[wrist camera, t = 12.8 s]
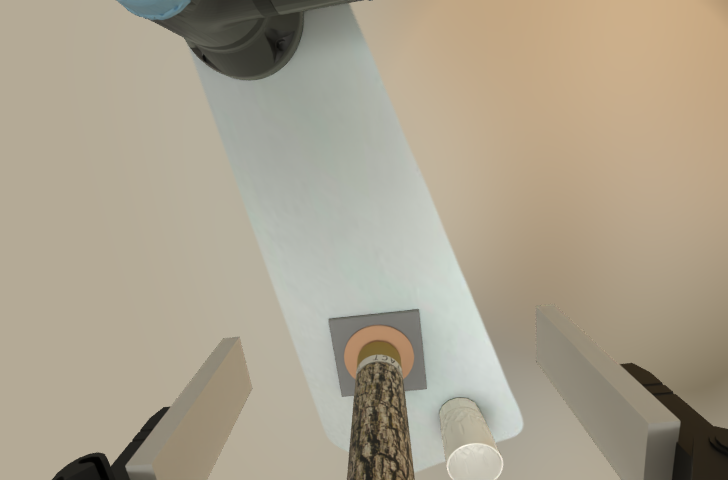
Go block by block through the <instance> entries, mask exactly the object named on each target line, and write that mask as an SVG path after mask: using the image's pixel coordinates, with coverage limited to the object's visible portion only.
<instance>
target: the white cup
mask: <svg viewBox="0 0 728 480" xmlns="http://www.w3.org/2000/svg"><path fill="white" fill-rule="evenodd" d="M439 415H440V423H441V433H442V441H443V447H444V453H445V460H446V465H447V471H448V473H449V476H450V477H451V478H452V479H453V480H496V479H497V478H498V477H499V475H500V474H501V472H502V469H503V459H502V456H501V454H500V452H499V450H498V448H497V445H496V443H495V441H494V439H493V436H492V434H491V432H490V430H489V428H488V426H487V424H486V422H485V420H484V418H483V416H482V414H481V412H480V410H479V408H478V407H477V405H476V404H475V403H474V402H473V401H471V400H469V399H467V398H455V399H452V400H449V401H448V402H446V403H445V404H444V405H443V406H442V408H441V410H440V413H439Z"/></svg>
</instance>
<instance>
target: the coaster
mask: <svg viewBox="0 0 728 480" xmlns="http://www.w3.org/2000/svg"><path fill="white" fill-rule="evenodd" d="M329 326H330V332H331V337H332V343H333V349H334V354H335V360H336V366H337V371H338V377H339V383H340V388H341V394H342V397H345V396H354V392H355V380H356V370H357V359H358V355H359V352H360V351H361V349H362V348H363V347H364V346H366V345H367V344H369V343H372V342H378V341H380V342H386V343H389V344H391V345H392V346H394V347H395V348H396V349H397V351H398V352H399V355H400V358H401V366H402V373H403V382H404V390H405V391H410V390H421V389H427V385H426V375H425V366H424V356H423V346H422V336H421V326H420V316H419V309H418V310H408V311H399V312H390V313H380V314H371V315H361V316H352V317H342V318H333V319H329Z"/></svg>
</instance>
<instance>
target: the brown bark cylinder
mask: <svg viewBox="0 0 728 480" xmlns="http://www.w3.org/2000/svg"><path fill="white" fill-rule="evenodd" d="M347 480H415V479H414V469H413V461H412V452H411V443H410V434H409V426H408V417H407V408H406V399H405V390H404V382H403V373H402V366H401V358H400V355H399V352H398V351H397V349H396V348H395V347H394V346H392V345H391V344H389V343H386V342H380V341H378V342H372V343H369V344H367V345H366V346H364V347H363V348H362V349H361V351H360V352H359V355H358V359H357V370H356V380H355V392H354V403H353V415H352V427H351V439H350V450H349V463H348V474H347Z"/></svg>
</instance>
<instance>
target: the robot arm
mask: <svg viewBox="0 0 728 480" xmlns="http://www.w3.org/2000/svg"><path fill="white" fill-rule="evenodd" d="M117 1H118V2H119V3H120V4H122V5H123V6H124V7H125V8H126V9H127V10H128V11H130V12H131V13H133V14H135V15H137V16H139V17H143V18H145V19H149V20H151V21H153V22H155V23H157V24H159V25H161V26H163V27H164V28H167V29H168V30H170V31H172V32H174V33H176V34H178V35H180V36H182V37H184V39H185V40H186V42H187V44H188V45H189V47H190V48H191V49H192V51H193V52H194V53H195V54H196V55H197V56H198V58H199V59H201V60H202V61H203V62H204V63H205V64H206V65H208V66H209V67H211V68H212V69H214V70H216V71H217V72H219V73H222V74H224V75H226V76H229V77H232V78H235V79H240V80H257V79H261V78H265V77H267V76H270V75H272V74H274V73H275V72H277V71H278V70H280V69H281V68H282V67H283V66H284V65H285V64H286V63H287V62H288V61H289V60H290V58H291V57H292V56H293V54H294V52H295V51H296V49H297V46H298V44H299V41H300V38H301V34H302V29H303V11H306V10H312V9H317V8H323V7H328V6H334V5H340V4H345V3H351V2H356V1H362V0H117ZM369 1H371V0H369ZM536 362H537V363H538V365H539V366H540V368H541V369H542V370H543V372H544V373H545V375H546V376H547V377H548V379H549V380H550V381H551V383H552V384H553V386H554V387H555V388H556V389H557V391H558V393H559V394H560V395H561V397H562V398H563V400H564V401H565V402H566V404H567V405H568V406H569V408H570V409H571V411H572V412H573V413H574V415H575V416H576V417H577V419H578V420H579V422H580V423H581V425H582V426H583V427H584V429H585V430H586V432H587V433H588V434H589V436H590V437H591V438H592V440H593V441H594V443H595V444H596V445H597V447H598V448H599V450H600V451H601V452H602V454H603V455H604V457H605V458H606V459H607V461H608V462H609V463H610V465H611V466H612V467H613V469H614V470H615V472H616V473H617V475H618V476H619V477H620V479H621V480H728V429H725V428H720V427H716V426H713V425H711V424H710V423H709V422H708V421H707V420H705V419H704V418H703V417H702V416H701V415H700V414H698V413H697V412H696V411H695V410H694V409H692V408H691V407H690V406H689V405H688V404H687V403H685V402H684V401H683V400H682V399H681V398H680V397H678V396H677V395H676V394H673V391H671V390H670V389H669V388H668V387H667V386H665V385H663V384H662V382H660V380H658V379H657V378H656V377H655V376H654V375H653V374H651V373H650V372H649V371H646V370H645V369H643V368H641V367H639V366H637V365H635V364H633V363H627V364H618V363H617V362H616V361H615V360H614V359H613V358H612V357H611V356H610V355H609V354H608V353H606V352H605V351H604V350H603V349H602V348H601V347H600V346H599V345H598V344H597V343H596V342H595V341H594V340H592V339H591V338H590V337H589V336H588V335H587V334H586V333H585V332H584V331H583V330H581V328H579V327H578V326H577V325H576V324H575V323H574V322H573V321H572V320H571V319H570V318H569V317H568V316H567V315H565V314H564V313H563V312H562V311H561V310H560V309H559V308H558V307H557V306H556V305H555V304H549V305H540V306H536ZM251 390H252V385H251V381H250V377H249V373H248V369H247V365H246V361H245V357H244V353H243V349H242V345H241V341H240V337H233V338H223V339H222V341H221V342H220V343H219V345H218V346H217V347H216V348H215V350H214V351H213V352H212V354H211V355H210V356H209V357H208V359H207V360H206V361H205V363H204V364H203V365H202V367H201V368H200V369H199V371H198V372H197V373H196V374H195V376H194V377H193V378H192V380H191V381H190V382H189V384H188V385H187V386H186V387H185V389H184V390H183V391H182V393H181V394H180V395H179V397H178V398H177V399H176V400H175V402H174V403H173V404H172V406H171V407H163V408H162V409H161V410H160V411H158V412H157V413H156V414H155V415H153V416H152V417H151V418H150V419H149V420H148V421H147V423H146V424H145V425H144V426H143V427H142V429H141V430H140V432H139V433H138V434H137V435H136V436H135V437H134V439H133V441H132V442H130V443H129V445H128V446H127V447H126V448H125V450H124V451H123V452H122V454H121V455H120V456H119V457H118V458H117V460H116V461H115V462H114V463H113V465H112V466H111V467H110V464H109V462H108V459H107V457H106V456H105V454H103V453H92V454H88V455H86V456H83V457H80V458H78V459H76V460H75V461H73V462H71V463H70V464H68V465H67V466H65V467H64V468H63V469H62V470H61V471H59V472H58V473H57V474H56V476H55V477H54V478H53V479H52V480H207V479H208V477H209V475H210V473H211V471H212V469H213V467H214V465H215V463H216V461H217V459H218V457H219V455H220V453H221V451H222V449H223V447H224V444H225V442H226V441H227V439H228V437H229V435H230V432H231V430H232V428H233V426H234V424H235V422H236V420H237V418H238V416H239V414H240V412H241V410H242V408H243V406H244V404H245V402H246V400H247V398H248V396H249V394H250V392H251Z"/></svg>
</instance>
